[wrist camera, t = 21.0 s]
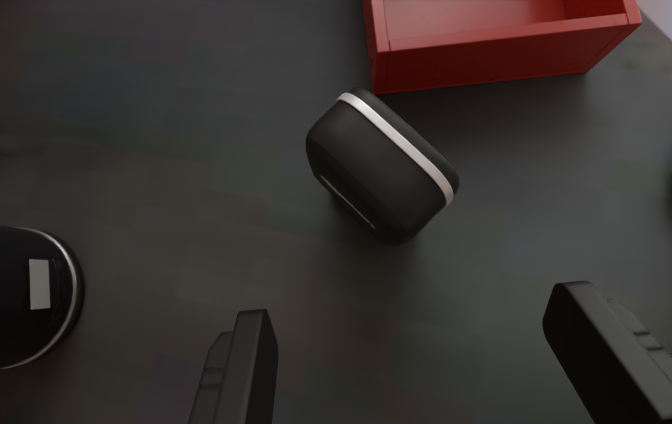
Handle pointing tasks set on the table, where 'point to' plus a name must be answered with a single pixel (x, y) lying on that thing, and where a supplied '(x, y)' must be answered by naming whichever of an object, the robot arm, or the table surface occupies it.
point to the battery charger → (379, 167)
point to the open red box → (488, 40)
